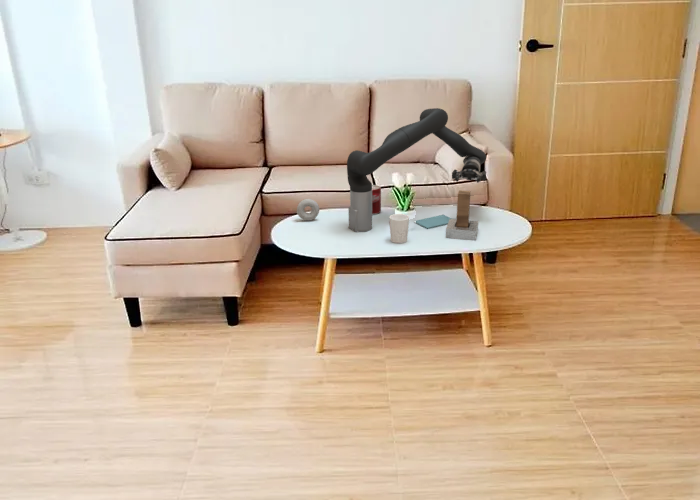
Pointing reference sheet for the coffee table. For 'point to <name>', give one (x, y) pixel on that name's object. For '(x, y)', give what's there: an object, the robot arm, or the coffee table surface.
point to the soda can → (376, 199)
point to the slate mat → (433, 221)
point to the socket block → (462, 230)
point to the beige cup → (399, 227)
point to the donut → (310, 203)
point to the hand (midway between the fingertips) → (467, 179)
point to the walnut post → (463, 209)
